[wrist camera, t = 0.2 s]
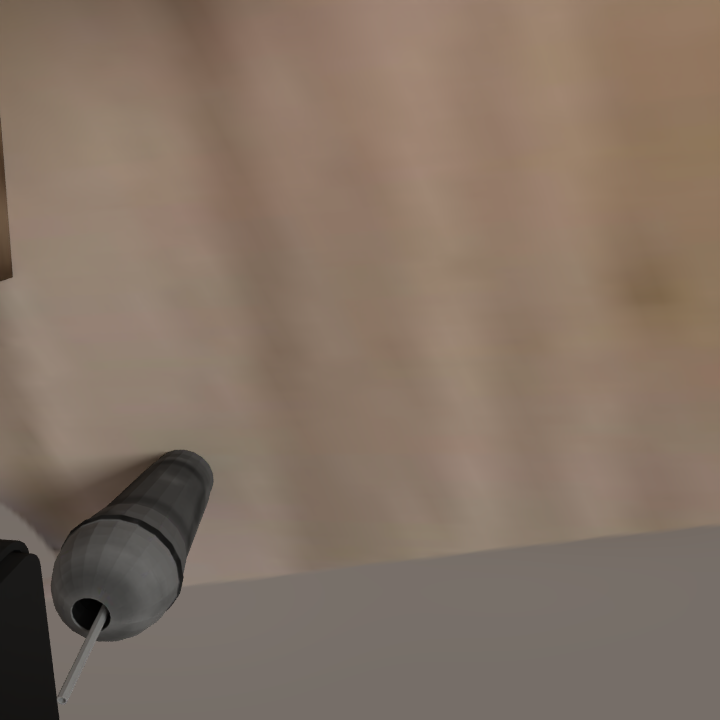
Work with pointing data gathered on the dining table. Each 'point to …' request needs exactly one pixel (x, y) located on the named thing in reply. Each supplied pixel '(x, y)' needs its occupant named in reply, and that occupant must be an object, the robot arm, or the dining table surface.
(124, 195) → the dining table surface
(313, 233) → the dining table surface
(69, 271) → the dining table surface
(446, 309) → the dining table surface
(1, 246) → the walnut rack
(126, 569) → the beverage cup
